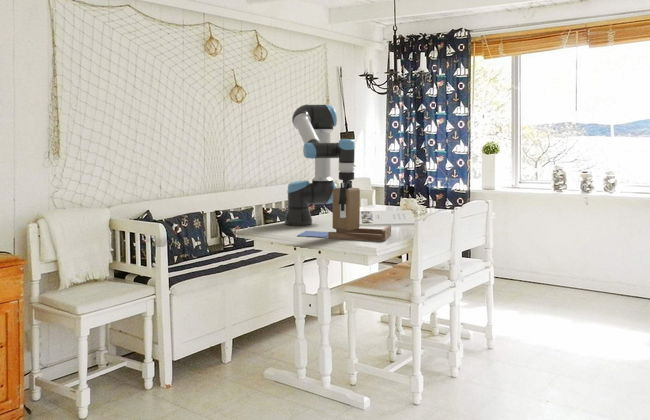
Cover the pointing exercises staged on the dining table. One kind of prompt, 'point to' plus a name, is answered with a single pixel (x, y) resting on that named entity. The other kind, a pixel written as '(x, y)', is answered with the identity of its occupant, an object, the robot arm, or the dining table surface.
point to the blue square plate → (314, 234)
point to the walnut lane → (362, 234)
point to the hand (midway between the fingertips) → (346, 215)
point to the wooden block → (347, 210)
